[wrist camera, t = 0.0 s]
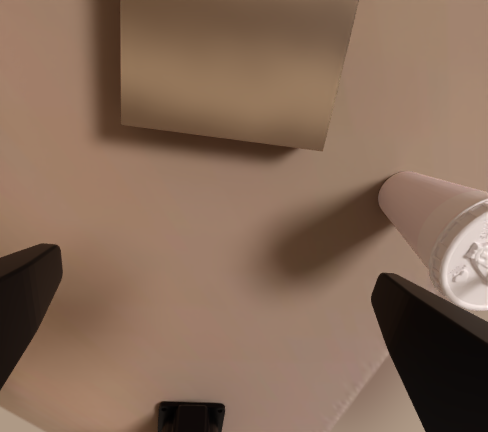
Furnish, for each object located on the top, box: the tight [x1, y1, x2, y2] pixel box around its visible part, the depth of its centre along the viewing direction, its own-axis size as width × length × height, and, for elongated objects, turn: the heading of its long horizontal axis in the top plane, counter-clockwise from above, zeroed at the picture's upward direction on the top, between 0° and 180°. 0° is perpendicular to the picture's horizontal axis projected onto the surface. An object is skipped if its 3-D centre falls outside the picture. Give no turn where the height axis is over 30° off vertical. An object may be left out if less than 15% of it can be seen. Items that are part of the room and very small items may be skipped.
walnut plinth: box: [120, 0, 359, 151], centre depth 18 cm, size 12×12×3 cm
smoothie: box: [378, 171, 488, 311], centre depth 18 cm, size 6×6×14 cm
